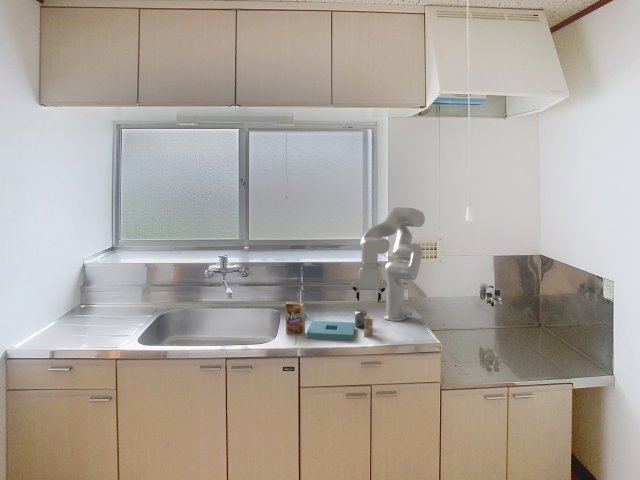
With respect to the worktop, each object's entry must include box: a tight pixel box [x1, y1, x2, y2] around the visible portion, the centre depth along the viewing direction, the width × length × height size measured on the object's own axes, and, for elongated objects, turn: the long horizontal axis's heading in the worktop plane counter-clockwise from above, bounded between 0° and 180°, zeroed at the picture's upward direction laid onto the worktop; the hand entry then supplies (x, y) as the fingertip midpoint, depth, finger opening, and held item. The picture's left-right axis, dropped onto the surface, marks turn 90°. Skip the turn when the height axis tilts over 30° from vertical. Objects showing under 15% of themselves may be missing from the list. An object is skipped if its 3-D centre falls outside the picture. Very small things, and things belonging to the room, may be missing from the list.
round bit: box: [354, 309, 368, 330], centre depth 196 cm, size 6×6×8 cm
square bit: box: [363, 315, 374, 338], centre depth 184 cm, size 4×4×9 cm
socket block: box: [306, 320, 356, 342], centre depth 187 cm, size 22×16×3 cm
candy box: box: [285, 301, 306, 336], centre depth 187 cm, size 9×4×15 cm, turn 73°
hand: (368, 300), depth 182 cm, fingers open, 9 cm apart
